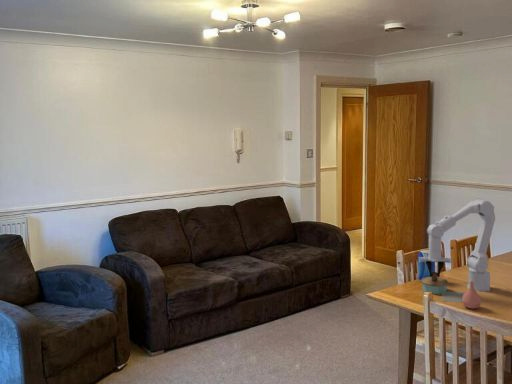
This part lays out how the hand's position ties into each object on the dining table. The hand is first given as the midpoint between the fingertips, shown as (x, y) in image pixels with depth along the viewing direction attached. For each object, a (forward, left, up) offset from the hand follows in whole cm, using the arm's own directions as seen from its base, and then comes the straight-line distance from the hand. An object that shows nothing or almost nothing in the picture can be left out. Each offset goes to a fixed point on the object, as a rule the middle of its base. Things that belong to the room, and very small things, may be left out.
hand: (434, 276), depth 243 cm
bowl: (0, 0, -7) cm, 7 cm away
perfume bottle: (-14, +21, -8) cm, 26 cm away
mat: (-10, +8, -7) cm, 15 cm away
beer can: (+3, -15, -8) cm, 17 cm away
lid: (0, 0, -3) cm, 3 cm away
